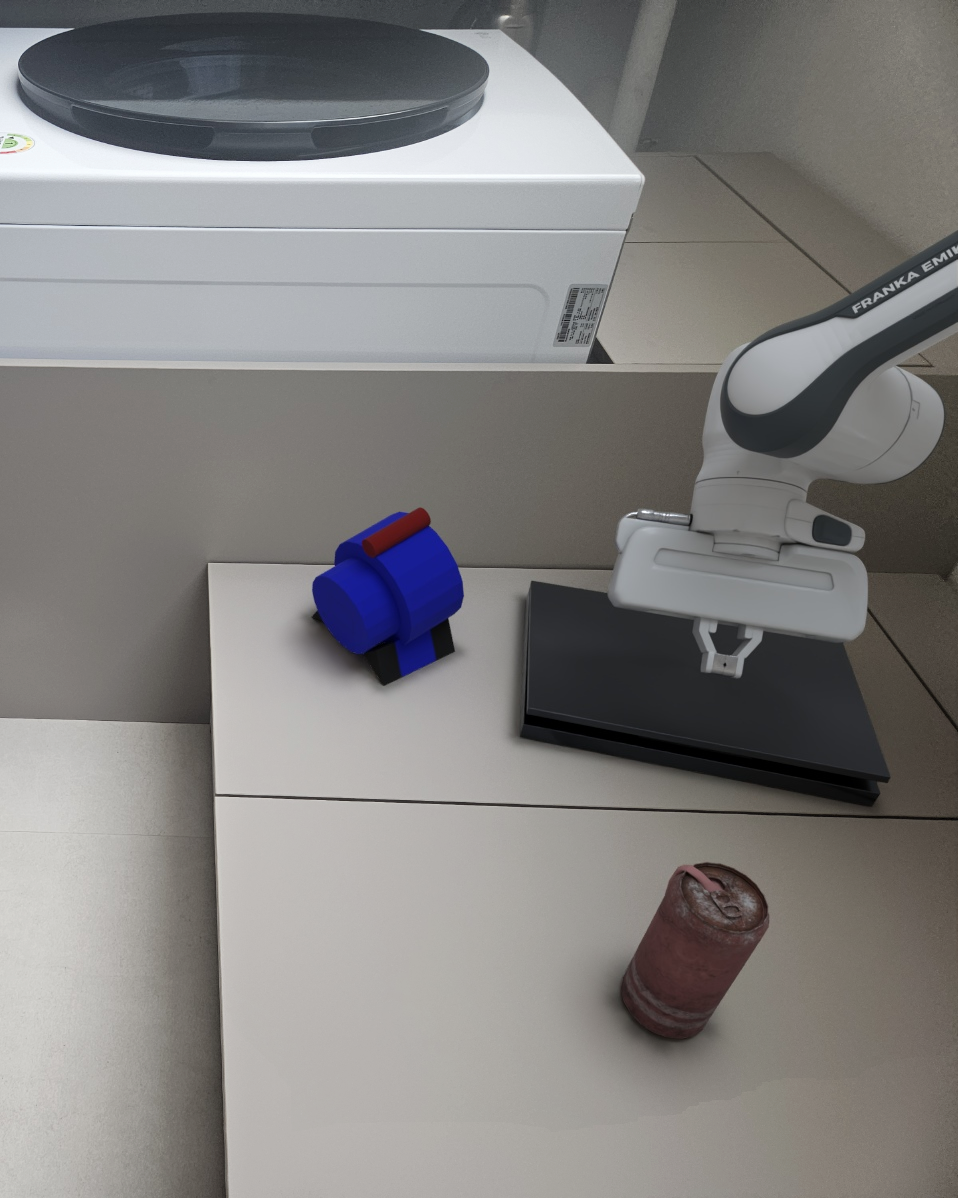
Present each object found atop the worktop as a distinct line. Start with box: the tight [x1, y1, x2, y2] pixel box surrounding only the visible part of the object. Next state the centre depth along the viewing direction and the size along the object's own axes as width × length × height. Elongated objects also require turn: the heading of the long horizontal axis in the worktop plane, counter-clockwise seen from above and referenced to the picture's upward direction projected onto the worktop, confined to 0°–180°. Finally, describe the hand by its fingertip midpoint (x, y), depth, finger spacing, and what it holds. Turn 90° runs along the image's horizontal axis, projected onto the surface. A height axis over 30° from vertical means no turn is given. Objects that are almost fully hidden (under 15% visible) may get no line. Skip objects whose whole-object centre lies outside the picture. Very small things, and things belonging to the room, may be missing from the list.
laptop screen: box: [527, 580, 892, 784], centre depth 101 cm, size 21×30×1 cm
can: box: [620, 861, 770, 1040], centre depth 73 cm, size 6×6×14 cm
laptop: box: [519, 587, 881, 807], centre depth 102 cm, size 21×30×2 cm
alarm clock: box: [311, 507, 465, 687], centre depth 105 cm, size 12×12×15 cm
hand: (720, 675), depth 91 cm, fingers closed
